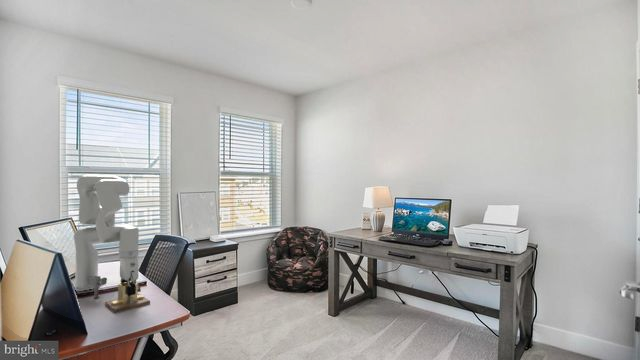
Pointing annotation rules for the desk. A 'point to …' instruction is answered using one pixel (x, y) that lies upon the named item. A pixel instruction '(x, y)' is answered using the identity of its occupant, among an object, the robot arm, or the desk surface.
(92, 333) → the desk surface
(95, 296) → the mechanical component
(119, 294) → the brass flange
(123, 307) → the post dock
